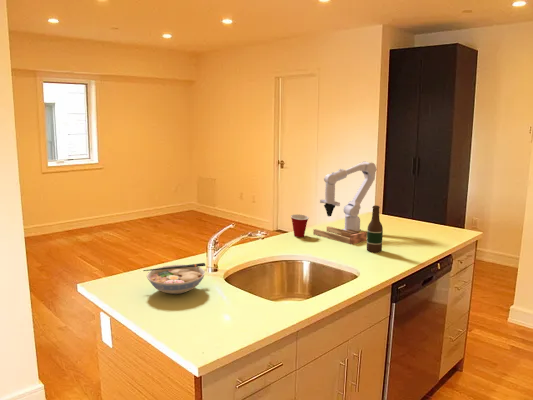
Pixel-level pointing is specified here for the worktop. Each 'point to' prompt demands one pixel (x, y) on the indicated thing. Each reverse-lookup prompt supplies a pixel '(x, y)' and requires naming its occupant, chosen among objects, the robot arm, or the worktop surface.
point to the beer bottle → (374, 232)
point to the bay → (352, 240)
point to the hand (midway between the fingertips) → (329, 216)
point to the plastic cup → (299, 224)
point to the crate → (348, 232)
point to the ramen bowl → (176, 277)
